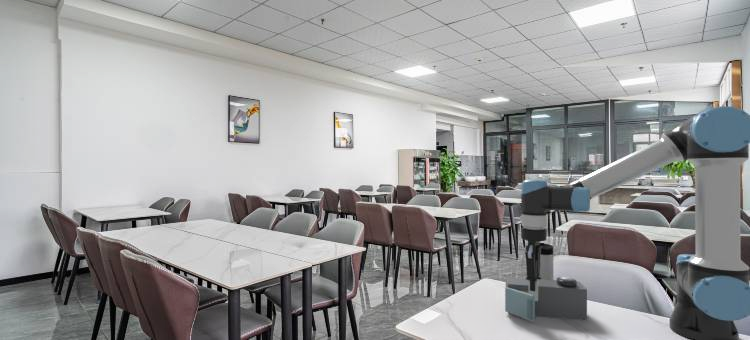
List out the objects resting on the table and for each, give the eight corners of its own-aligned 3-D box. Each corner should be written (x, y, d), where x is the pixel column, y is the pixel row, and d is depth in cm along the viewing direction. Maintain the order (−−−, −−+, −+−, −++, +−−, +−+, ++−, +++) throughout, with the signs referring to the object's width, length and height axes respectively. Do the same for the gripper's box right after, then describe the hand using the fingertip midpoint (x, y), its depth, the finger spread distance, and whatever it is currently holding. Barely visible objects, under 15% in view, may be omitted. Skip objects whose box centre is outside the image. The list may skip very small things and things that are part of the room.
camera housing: (579, 310, 124) (579, 275, 123) (587, 320, 116) (586, 283, 116) (505, 304, 130) (505, 271, 130) (508, 313, 122) (507, 277, 122)
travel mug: (549, 293, 140) (549, 242, 140) (556, 299, 134) (556, 246, 134) (532, 293, 141) (532, 242, 141) (538, 299, 134) (538, 246, 134)
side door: (503, 312, 121) (503, 288, 121) (507, 310, 122) (507, 287, 122) (531, 322, 112) (531, 296, 112) (534, 320, 114) (534, 295, 114)
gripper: (526, 223, 124) (525, 291, 124) (516, 229, 113) (516, 303, 114) (549, 225, 120) (549, 296, 120) (542, 231, 109) (542, 308, 109)
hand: (533, 299), depth 117 cm, fingers closed
